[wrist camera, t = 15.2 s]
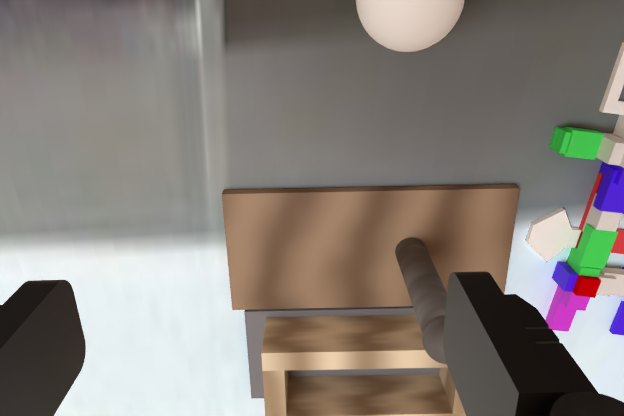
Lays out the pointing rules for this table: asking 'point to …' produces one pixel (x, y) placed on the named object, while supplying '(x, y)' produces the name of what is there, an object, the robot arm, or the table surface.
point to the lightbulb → (408, 21)
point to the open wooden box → (352, 355)
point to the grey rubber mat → (258, 316)
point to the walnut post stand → (366, 247)
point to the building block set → (588, 218)
